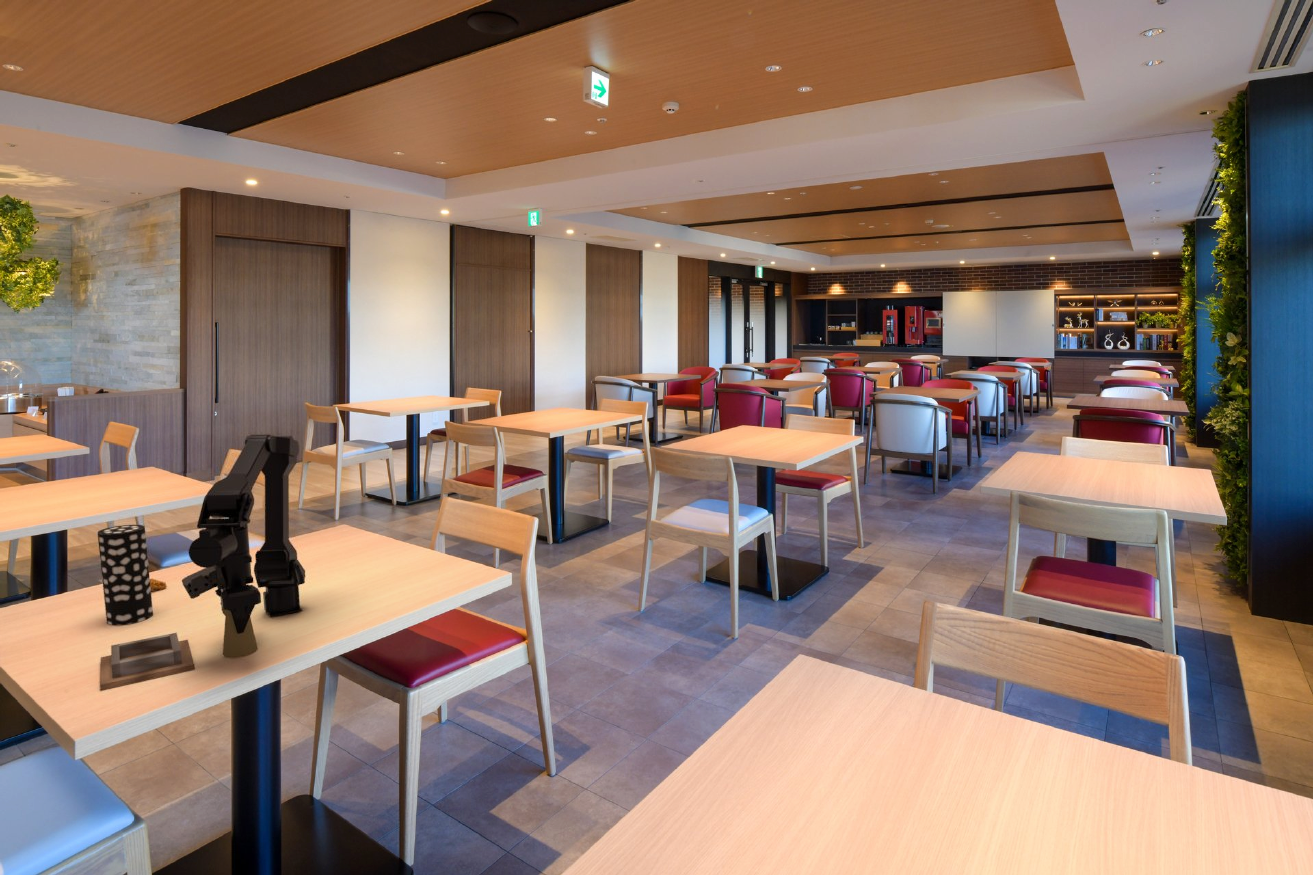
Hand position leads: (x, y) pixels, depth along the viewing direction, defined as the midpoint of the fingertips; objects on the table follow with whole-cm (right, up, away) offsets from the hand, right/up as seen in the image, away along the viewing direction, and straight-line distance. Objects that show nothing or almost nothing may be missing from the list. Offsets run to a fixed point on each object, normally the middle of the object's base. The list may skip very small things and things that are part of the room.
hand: (238, 629), depth 144 cm
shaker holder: (-14, -5, -6) cm, 16 cm away
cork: (0, -5, +1) cm, 5 cm away
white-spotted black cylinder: (-34, -2, +18) cm, 38 cm away
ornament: (-43, -1, +34) cm, 55 cm away
